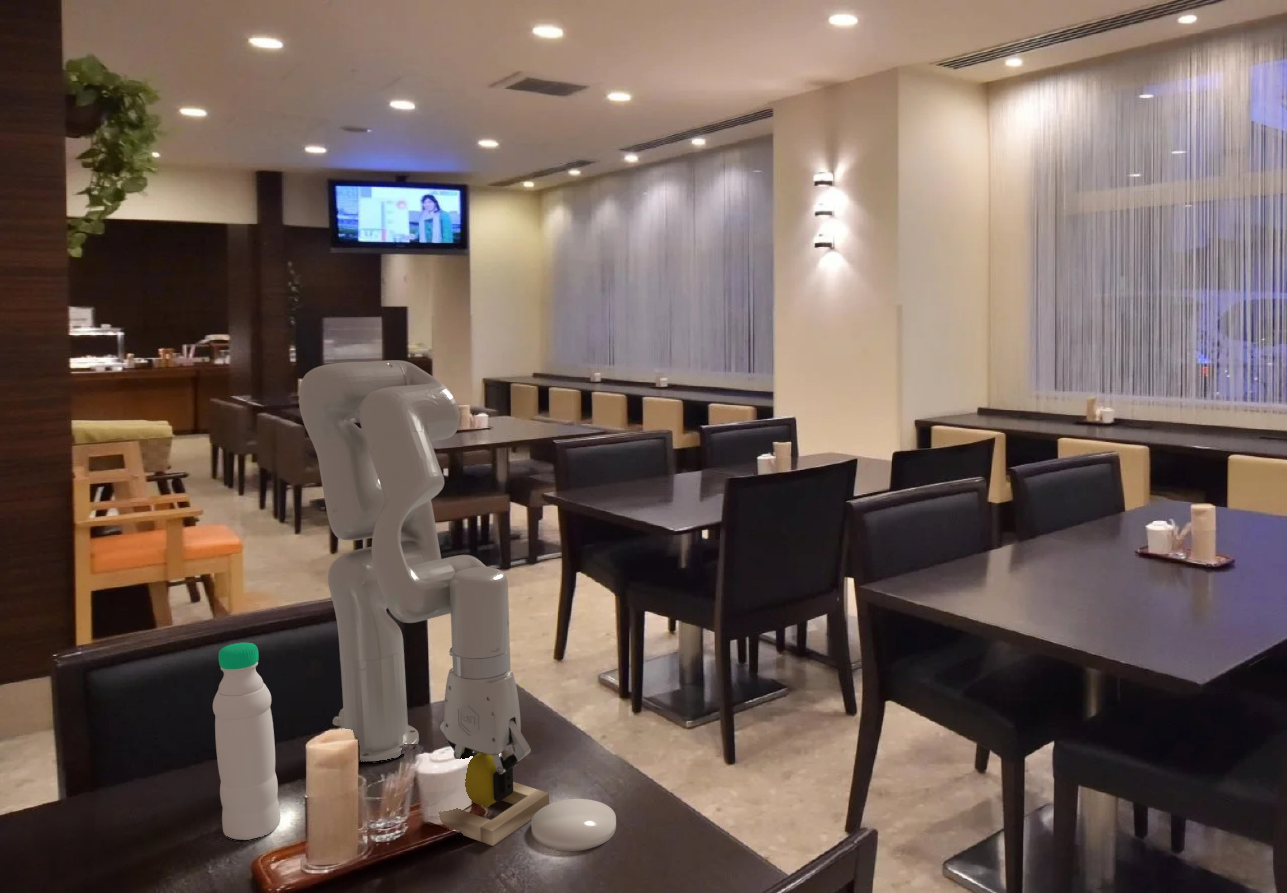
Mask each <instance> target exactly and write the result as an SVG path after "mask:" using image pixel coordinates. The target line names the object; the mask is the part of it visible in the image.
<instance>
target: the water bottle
mask: <svg viewBox="0 0 1287 893" xmlns="http://www.w3.org/2000/svg"><path fill="white" fill-rule="evenodd" d="M259 655H260V654H259V649H258V646H257V645H256V644H254V643H252V642H251V643H250V642H237V643H231V644H228V645H225V646H223V647H222V648H221V649H220V650H219V651H218V663H219V667H220V671H222V672H223V677H222V679H221V681H220V682H219V684H218V690H217V692H216V693H215V696H214V698H213V702H212V710H213V714H214V715H215V716H214V717H215V721H214V729H215V730H214V732H215V750H216V757H217V767H218V775H219V779H220V784H219V786H220V787H219V796H220V798H219V799H220V802H221V806H222V813H221V815H222V816H221V821H222V822H221V823H222V832H223V834H224V835H225V837H227V836H228V837H230V838H233V839H252V838H257V837H261V836H263V835H266V836H268V835H269V834H271V833H272V832H274V831H275V830H276V829H277V828H278V827H279V825H280V823H281V809H280V808H281V807H280V803H279V799H278V789H279V786H278V785H279V784H278V783H279V782H278V778H277V774H276V747H275V746H276V745H275V744H276V743H275V733H274V732H275V731H274V722H273V721H274V720H273V715H272V709H271V704H272V695H271V692H270V690H269V688H268V687H267V685H266V683H264V680H263V678H262V676H261V675H260V674H259V673H258V672H257V670H256V668H257V666H258V664H259V657H260V656H259ZM270 832H271V833H270ZM228 837H227V838H228ZM263 837H264V836H263ZM230 838H229V839H230ZM261 838H262V837H261Z"/></svg>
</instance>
